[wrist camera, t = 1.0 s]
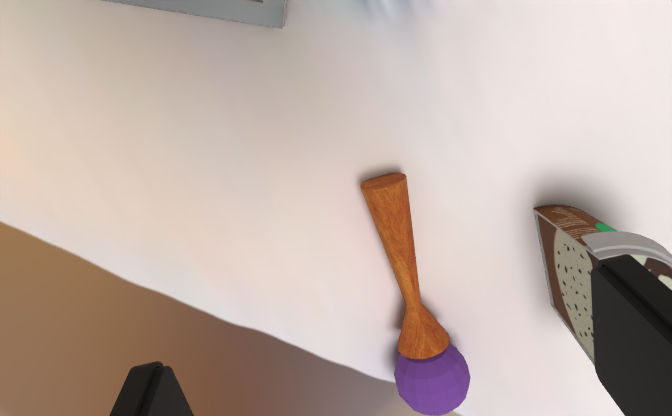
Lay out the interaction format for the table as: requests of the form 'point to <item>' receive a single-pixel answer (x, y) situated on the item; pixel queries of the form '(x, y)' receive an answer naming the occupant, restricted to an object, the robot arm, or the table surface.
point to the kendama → (415, 309)
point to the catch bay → (223, 9)
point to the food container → (587, 262)
